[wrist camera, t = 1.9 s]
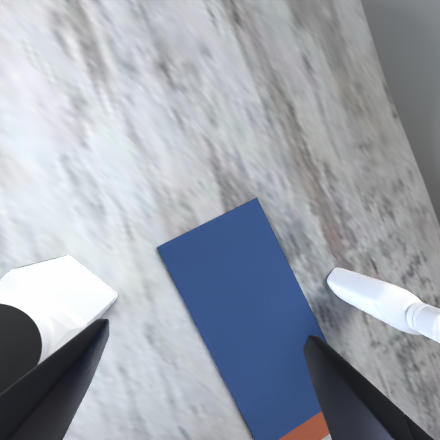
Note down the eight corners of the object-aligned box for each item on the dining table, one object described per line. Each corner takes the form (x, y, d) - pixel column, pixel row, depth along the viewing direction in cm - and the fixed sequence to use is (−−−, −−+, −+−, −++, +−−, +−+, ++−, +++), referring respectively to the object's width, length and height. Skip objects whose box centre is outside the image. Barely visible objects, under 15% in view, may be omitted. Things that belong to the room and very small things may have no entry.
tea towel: (358, 409, 26) (360, 412, 26) (270, 468, 24) (271, 473, 24) (256, 198, 25) (256, 197, 24) (157, 247, 23) (156, 247, 23)
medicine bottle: (69, 253, 22) (-79, 288, 10) (121, 294, 23) (38, 373, 11) (21, 305, 22) (-196, 406, 10) (75, 346, 22) (-66, 490, 10)
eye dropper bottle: (338, 312, 26) (460, 390, 14) (321, 272, 26) (431, 315, 14) (366, 297, 26) (508, 360, 14) (350, 258, 26) (481, 288, 14)
